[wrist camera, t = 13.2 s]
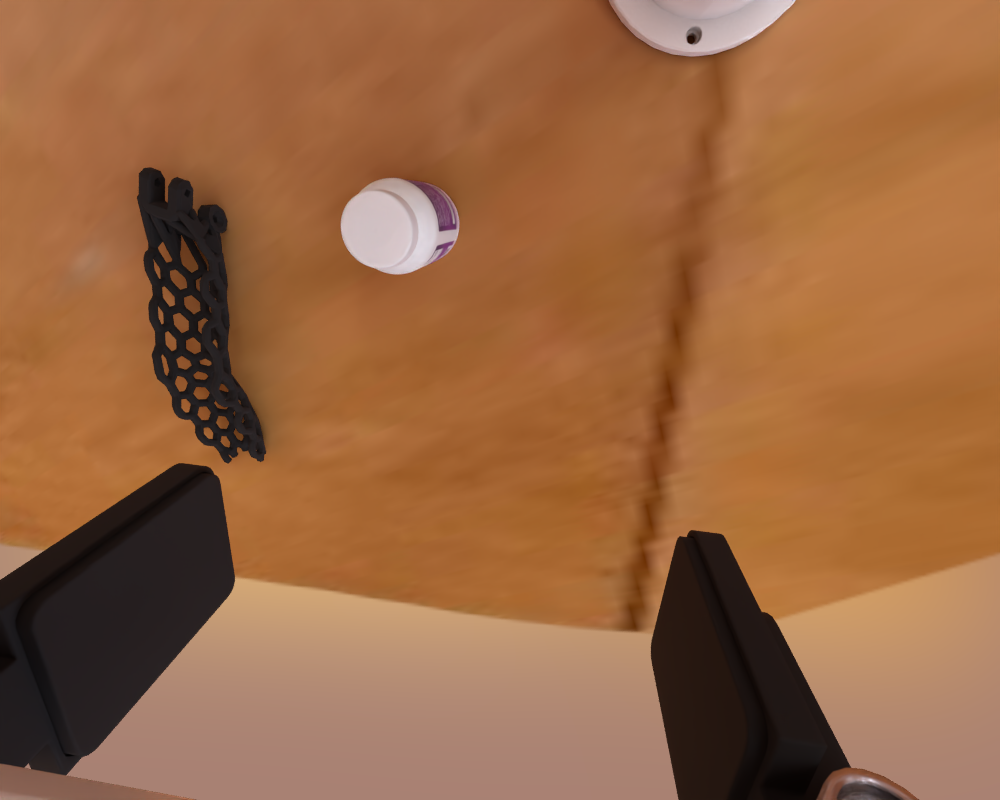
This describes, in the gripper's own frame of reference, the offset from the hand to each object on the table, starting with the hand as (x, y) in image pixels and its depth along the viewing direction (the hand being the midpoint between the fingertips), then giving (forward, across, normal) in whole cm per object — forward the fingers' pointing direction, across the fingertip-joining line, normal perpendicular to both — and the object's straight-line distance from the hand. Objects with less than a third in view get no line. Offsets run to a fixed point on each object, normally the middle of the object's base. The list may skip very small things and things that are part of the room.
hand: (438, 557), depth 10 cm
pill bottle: (+28, +8, -5) cm, 30 cm away
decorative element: (+28, +24, +4) cm, 37 cm away
